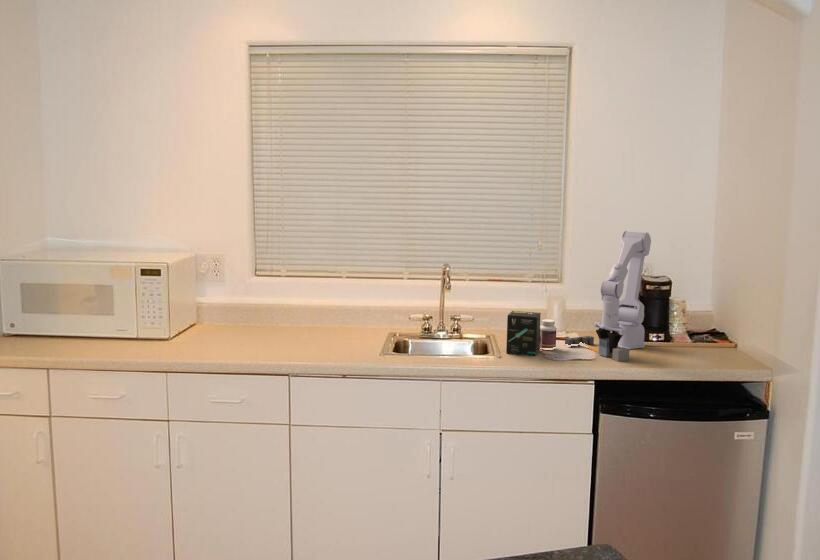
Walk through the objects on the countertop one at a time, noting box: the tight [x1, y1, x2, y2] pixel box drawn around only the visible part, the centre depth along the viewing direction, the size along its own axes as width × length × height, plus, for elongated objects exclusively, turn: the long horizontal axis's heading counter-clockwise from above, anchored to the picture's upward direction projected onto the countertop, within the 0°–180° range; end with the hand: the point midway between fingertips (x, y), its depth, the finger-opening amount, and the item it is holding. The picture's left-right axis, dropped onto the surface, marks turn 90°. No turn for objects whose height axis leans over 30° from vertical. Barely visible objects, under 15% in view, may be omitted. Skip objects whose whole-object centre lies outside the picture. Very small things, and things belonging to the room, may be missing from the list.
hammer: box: [579, 342, 631, 362], centre depth 265 cm, size 5×26×4 cm, turn 26°
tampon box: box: [505, 310, 541, 357], centre depth 264 cm, size 11×9×15 cm
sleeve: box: [598, 338, 619, 358], centre depth 261 cm, size 5×4×6 cm
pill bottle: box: [540, 318, 557, 348], centre depth 269 cm, size 6×6×11 cm
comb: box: [564, 335, 595, 346], centre depth 276 cm, size 12×2×3 cm, turn 116°
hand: (608, 350), depth 261 cm, fingers closed on sleeve, 4 cm apart
